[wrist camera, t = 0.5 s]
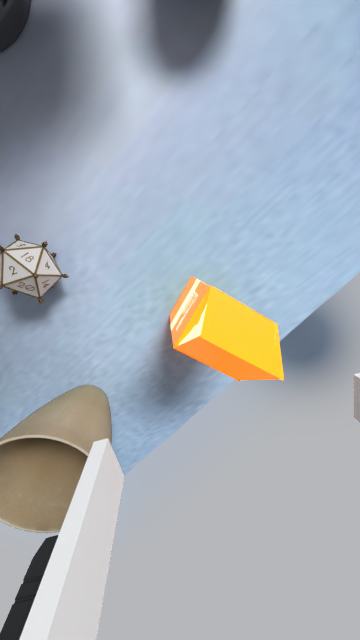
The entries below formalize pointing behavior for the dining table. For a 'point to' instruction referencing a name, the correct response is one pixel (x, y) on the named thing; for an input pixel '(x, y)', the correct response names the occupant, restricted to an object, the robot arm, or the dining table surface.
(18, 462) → the plant pot
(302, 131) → the dining table surface
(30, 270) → the game die
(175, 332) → the orange juice
